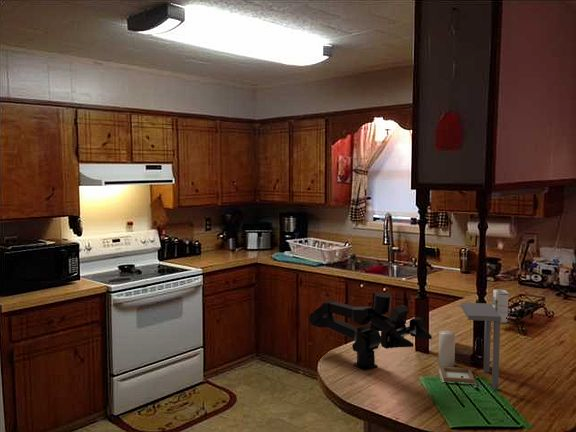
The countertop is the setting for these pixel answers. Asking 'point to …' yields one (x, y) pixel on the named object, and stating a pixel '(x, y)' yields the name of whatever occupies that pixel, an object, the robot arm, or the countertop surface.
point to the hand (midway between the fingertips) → (422, 341)
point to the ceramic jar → (446, 348)
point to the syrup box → (501, 303)
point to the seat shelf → (485, 314)
